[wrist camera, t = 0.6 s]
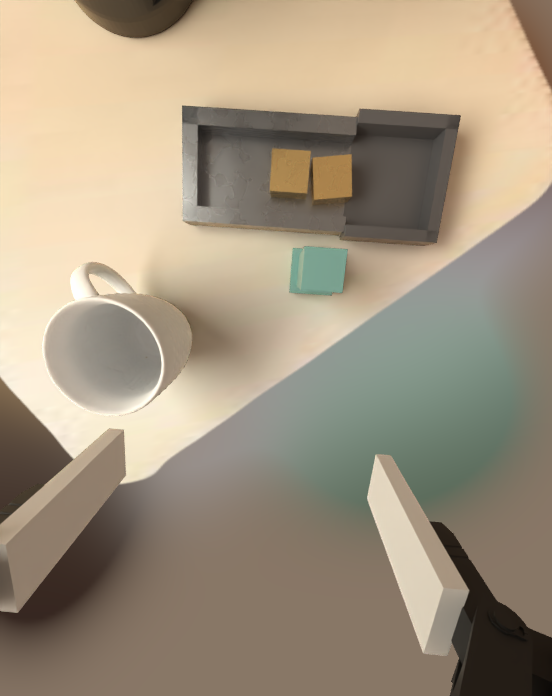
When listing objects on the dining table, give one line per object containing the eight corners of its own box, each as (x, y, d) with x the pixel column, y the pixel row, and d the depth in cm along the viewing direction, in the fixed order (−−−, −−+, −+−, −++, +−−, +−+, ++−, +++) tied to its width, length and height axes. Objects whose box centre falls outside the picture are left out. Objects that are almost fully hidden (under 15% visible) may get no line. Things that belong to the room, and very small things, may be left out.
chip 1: (273, 157, 33) (272, 148, 30) (308, 160, 33) (310, 150, 30) (270, 197, 34) (269, 190, 31) (305, 199, 34) (307, 193, 31)
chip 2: (310, 166, 33) (312, 157, 30) (346, 163, 33) (351, 154, 30) (312, 205, 34) (314, 199, 31) (347, 202, 33) (351, 196, 31)
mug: (87, 287, 37) (-16, 292, 24) (159, 244, 36) (90, 226, 23) (151, 386, 40) (89, 436, 27) (221, 350, 39) (189, 385, 26)
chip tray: (353, 124, 32) (359, 108, 29) (444, 130, 32) (460, 115, 29) (339, 239, 35) (344, 236, 32) (423, 245, 35) (436, 242, 32)
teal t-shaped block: (292, 249, 35) (296, 235, 24) (334, 252, 35) (358, 240, 24) (289, 291, 37) (291, 298, 25) (329, 294, 36) (350, 302, 25)
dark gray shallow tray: (190, 118, 32) (182, 105, 30) (352, 129, 32) (358, 117, 30) (189, 224, 35) (182, 220, 33) (340, 235, 35) (344, 232, 32)
